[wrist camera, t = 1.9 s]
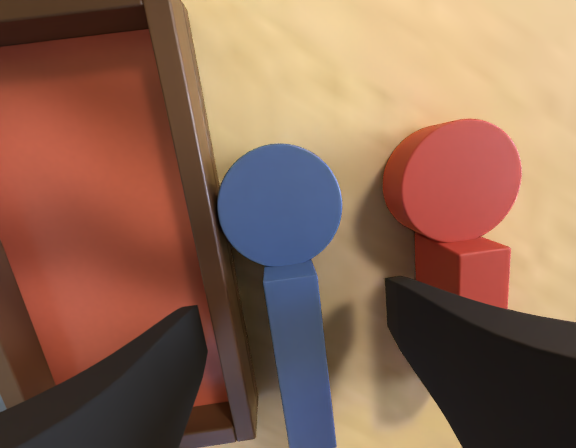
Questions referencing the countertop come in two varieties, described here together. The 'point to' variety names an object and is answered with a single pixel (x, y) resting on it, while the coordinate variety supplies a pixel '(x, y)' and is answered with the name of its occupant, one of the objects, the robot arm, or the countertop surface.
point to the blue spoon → (288, 270)
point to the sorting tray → (111, 203)
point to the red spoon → (456, 204)
